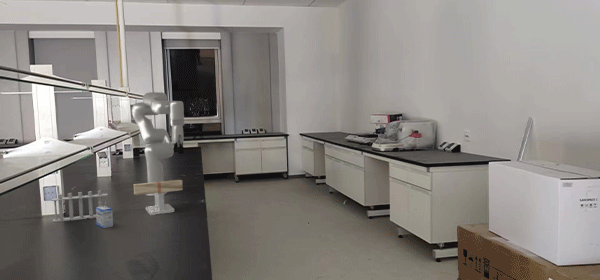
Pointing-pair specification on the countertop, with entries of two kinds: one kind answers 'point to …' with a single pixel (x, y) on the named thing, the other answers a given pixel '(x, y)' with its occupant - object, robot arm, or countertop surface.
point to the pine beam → (157, 187)
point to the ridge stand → (159, 205)
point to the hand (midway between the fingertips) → (178, 152)
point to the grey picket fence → (79, 205)
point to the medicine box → (104, 217)
